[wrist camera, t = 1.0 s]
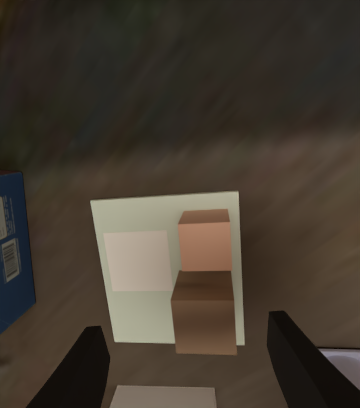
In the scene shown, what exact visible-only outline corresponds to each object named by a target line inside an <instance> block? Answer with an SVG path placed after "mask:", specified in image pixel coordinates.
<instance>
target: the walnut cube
mask: <svg viewBox="0 0 360 408" xmlns="http://www.w3.org/2000/svg"><path fill="white" fill-rule="evenodd" d="M170 301H171V310H172V319H173V328H174V337H175V346H176V353H186V354H218V355H237V346H236V326H235V305H234V294H233V285H232V276H231V271H182V270H179V273H178V276H177V279H176V283H175V286H174V290H173V293H172V297H171V300H170Z"/></svg>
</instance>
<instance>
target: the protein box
mask: <svg viewBox="0 0 360 408" xmlns="http://www.w3.org/2000/svg"><path fill="white" fill-rule="evenodd" d="M35 303H36V302H35V293H34V284H33V274H32V265H31V255H30V245H29V235H28V225H27V215H26V205H25V195H24V186H23V177H22V173H21V172H18V171H3V170H0V335H1V334H2V333H3V332H4V331H5V330H6V329H7V328H8V327H9V326H11V325H12V324H13V323H14V322H15V321H16V320H17V319H18V318H20V317H21V316H22V315H23V314H24V313H25V312H26V311H27V310H29V309H30V308H31V307H32V306H33V305H34V304H35Z"/></svg>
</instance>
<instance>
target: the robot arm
mask: <svg viewBox="0 0 360 408" xmlns="http://www.w3.org/2000/svg"><path fill="white" fill-rule="evenodd" d="M267 348H268V351H269V355H270V358H271V362H272V365H273V368H274V372H275V374H276V377H277V380H278V382H279V385H280V387H281V390H282V392H283V395H284V397H285V400H286V402H287V405H288V407H289V408H360V350H349V349H318V348H317V347H316V346H315V345H314V344H313V343H312V342H311V341H310V340H309V339H308V337H307V336H306V335H305V334H304V333H303V332H302V331H301V330H300V328H299V327H298V326H297V325H296V324H295V323H294V322H293V320H292V319H291V318H290V317H289V316H288V314H287V313H286V312H285V311H272V312H269V320H268V335H267ZM109 363H110V355H109V352H108V349H107V345H106V342H105V338H104V335H103V332H102V328H101V326H91V327H86V328H85V329H84V331H83V332H82V334H81V335H80V337H79V338H78V339H77V341H76V342H75V344H74V345H73V346H72V348H71V349H70V351H69V352H68V354H67V355H66V356H65V358H64V359H63V360H62V362H61V363H60V364H59V366H58V367H57V368H56V370H55V371H54V373H53V374H52V375H51V377H50V378H49V379H48V380H47V382H46V383H45V384H44V386H43V387H42V388H41V389H40V391H39V392H38V393H37V394H36V395H35V397H34V398H33V399H32V400H31V402H30V403H29V404H28V405H27V407H26V408H100V407H101V403H102V399H103V396H104V392H105V388H106V383H107V377H108V370H109Z"/></svg>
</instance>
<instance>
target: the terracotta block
mask: <svg viewBox="0 0 360 408" xmlns="http://www.w3.org/2000/svg"><path fill="white" fill-rule="evenodd" d="M178 233H179V243H180V254H181V264H182V271H232V254H231V233H230V219H229V213H228V209H212V210H193V211H184V212H183V214H182V216H181V218H180V220H179V223H178Z"/></svg>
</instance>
